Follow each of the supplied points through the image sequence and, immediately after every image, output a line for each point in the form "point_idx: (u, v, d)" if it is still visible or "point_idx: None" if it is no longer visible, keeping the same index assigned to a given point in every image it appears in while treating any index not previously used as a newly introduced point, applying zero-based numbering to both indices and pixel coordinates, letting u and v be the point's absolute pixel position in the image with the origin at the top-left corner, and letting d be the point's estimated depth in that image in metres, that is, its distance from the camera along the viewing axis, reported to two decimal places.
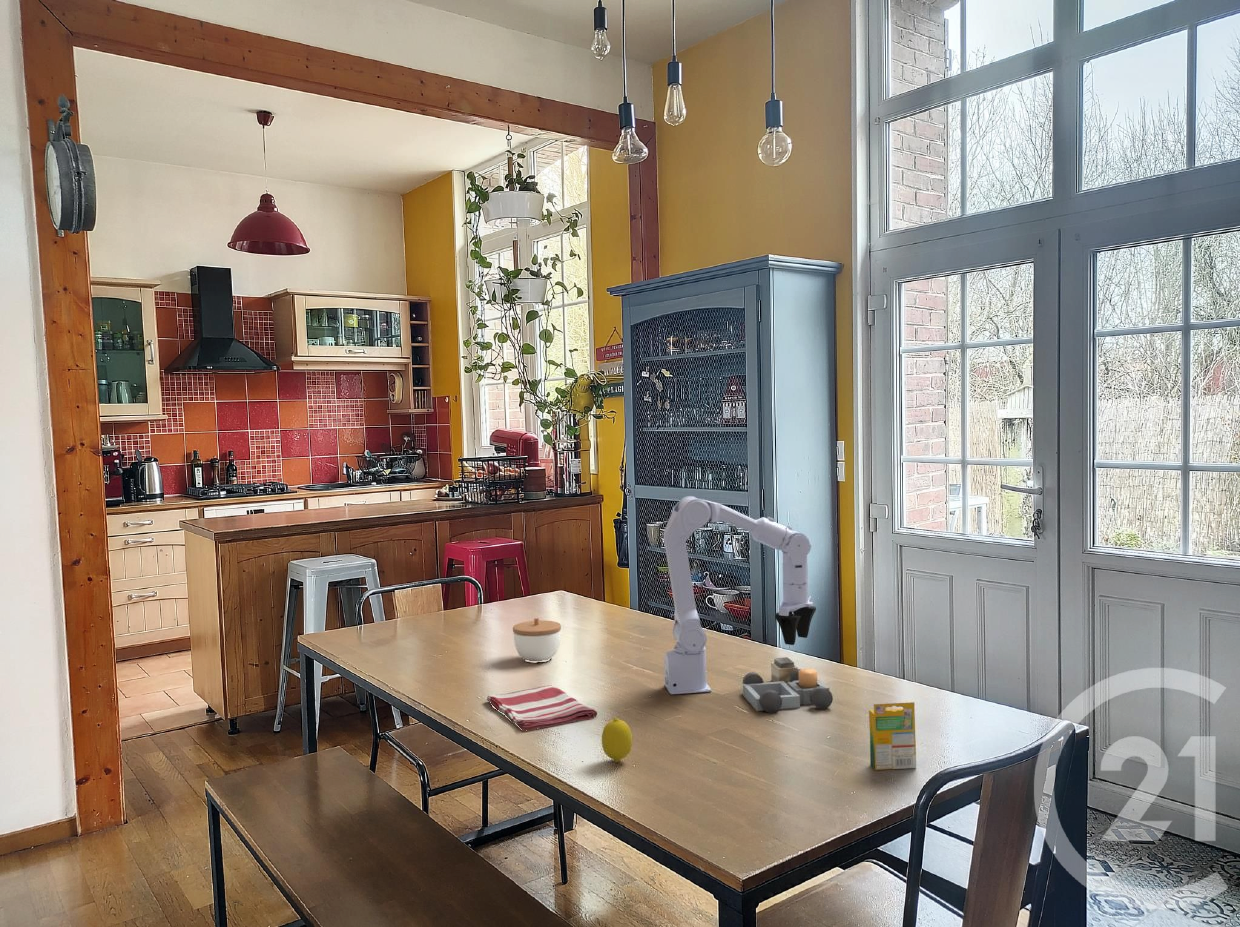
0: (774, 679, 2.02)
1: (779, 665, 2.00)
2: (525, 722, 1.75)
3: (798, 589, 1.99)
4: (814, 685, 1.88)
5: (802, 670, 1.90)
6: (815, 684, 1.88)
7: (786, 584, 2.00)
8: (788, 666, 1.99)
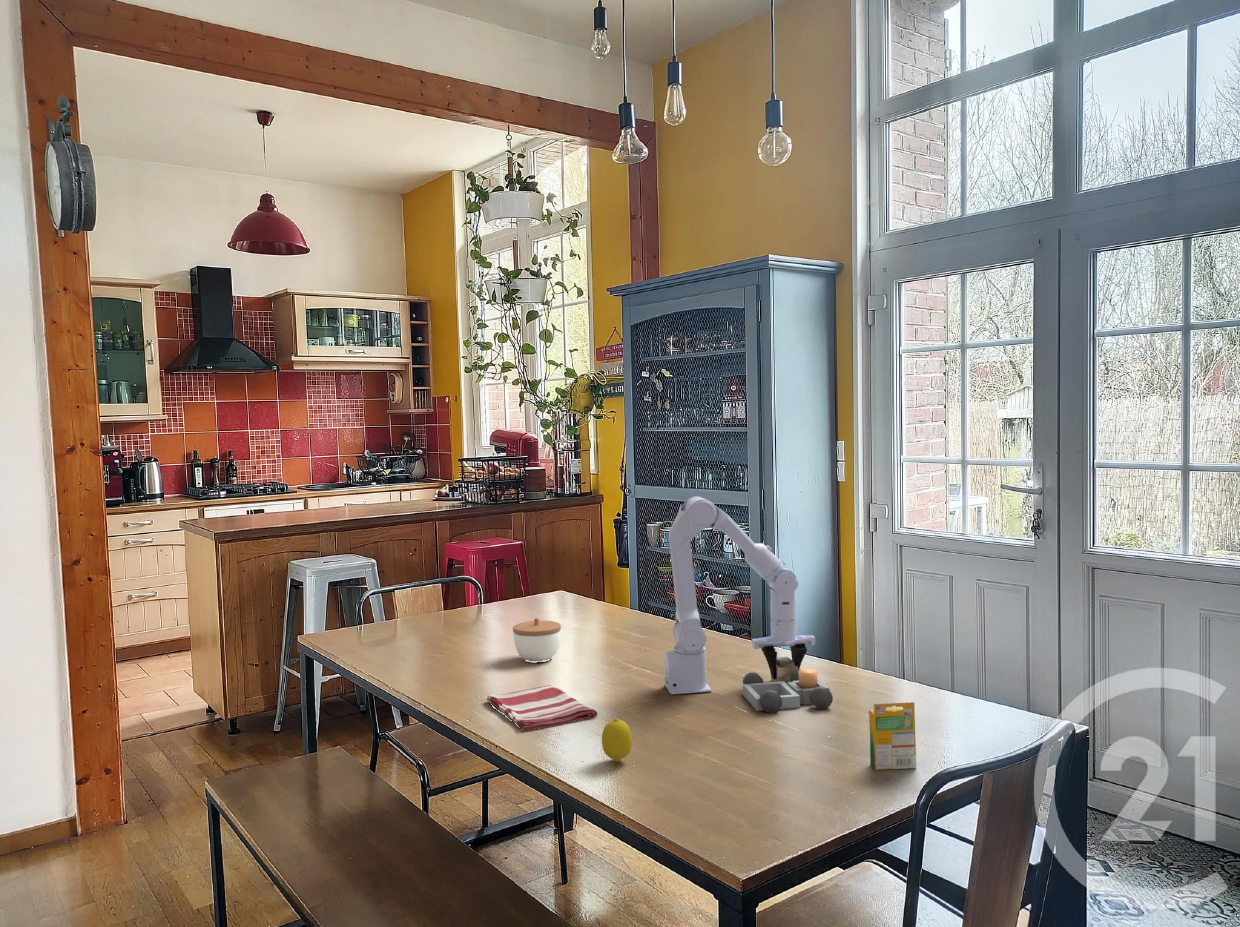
0: None
1: (779, 664, 2.00)
2: (525, 722, 1.75)
3: (776, 625, 1.99)
4: (814, 685, 1.88)
5: (802, 670, 1.90)
6: (815, 684, 1.88)
7: None
8: (788, 665, 1.99)
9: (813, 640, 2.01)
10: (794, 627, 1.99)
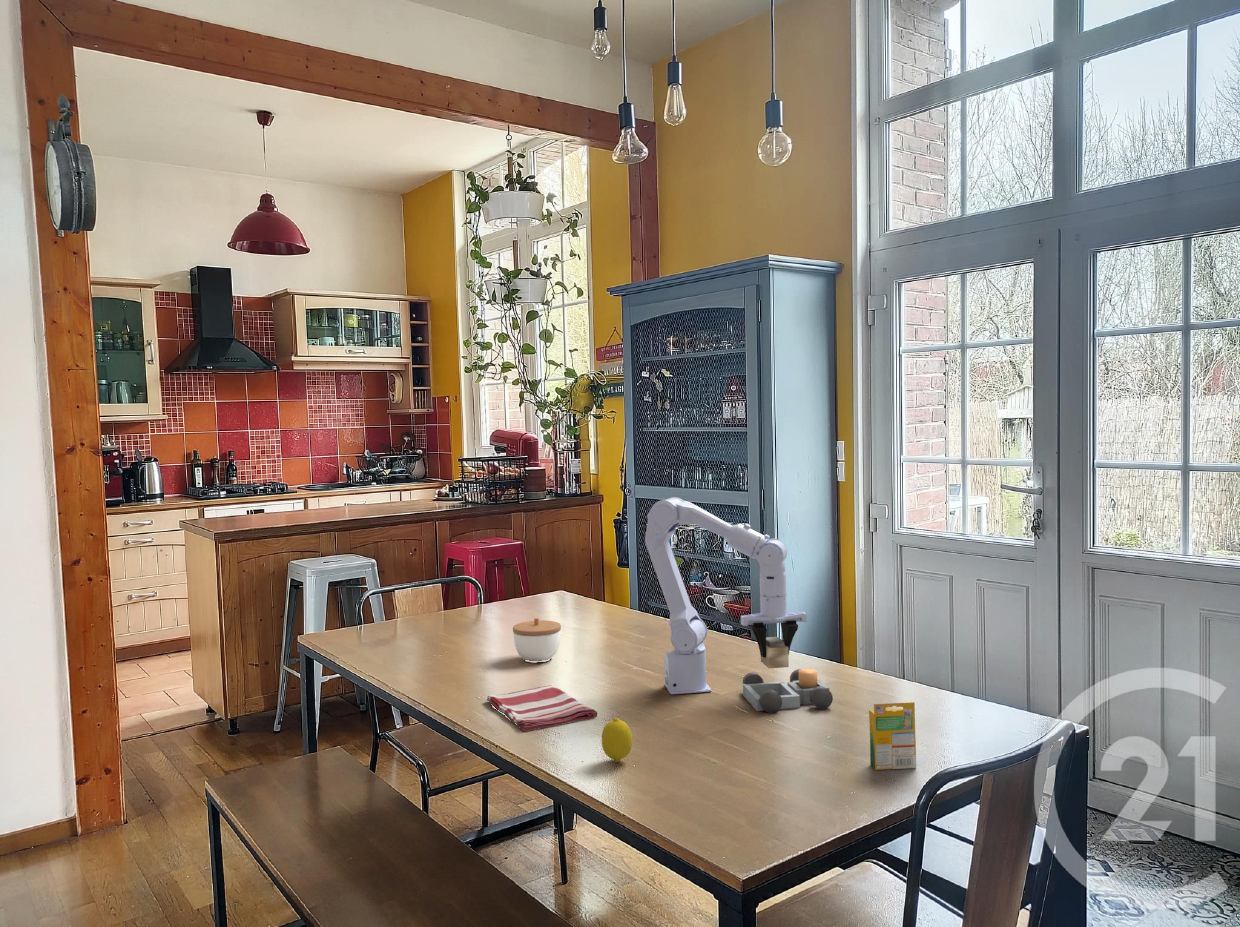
0: (763, 659, 1.93)
1: (769, 644, 1.91)
2: (525, 722, 1.75)
3: (765, 601, 1.90)
4: (814, 685, 1.88)
5: (802, 670, 1.90)
6: (815, 684, 1.88)
7: (760, 595, 1.93)
8: (778, 645, 1.91)
9: (804, 617, 1.92)
10: (785, 603, 1.91)
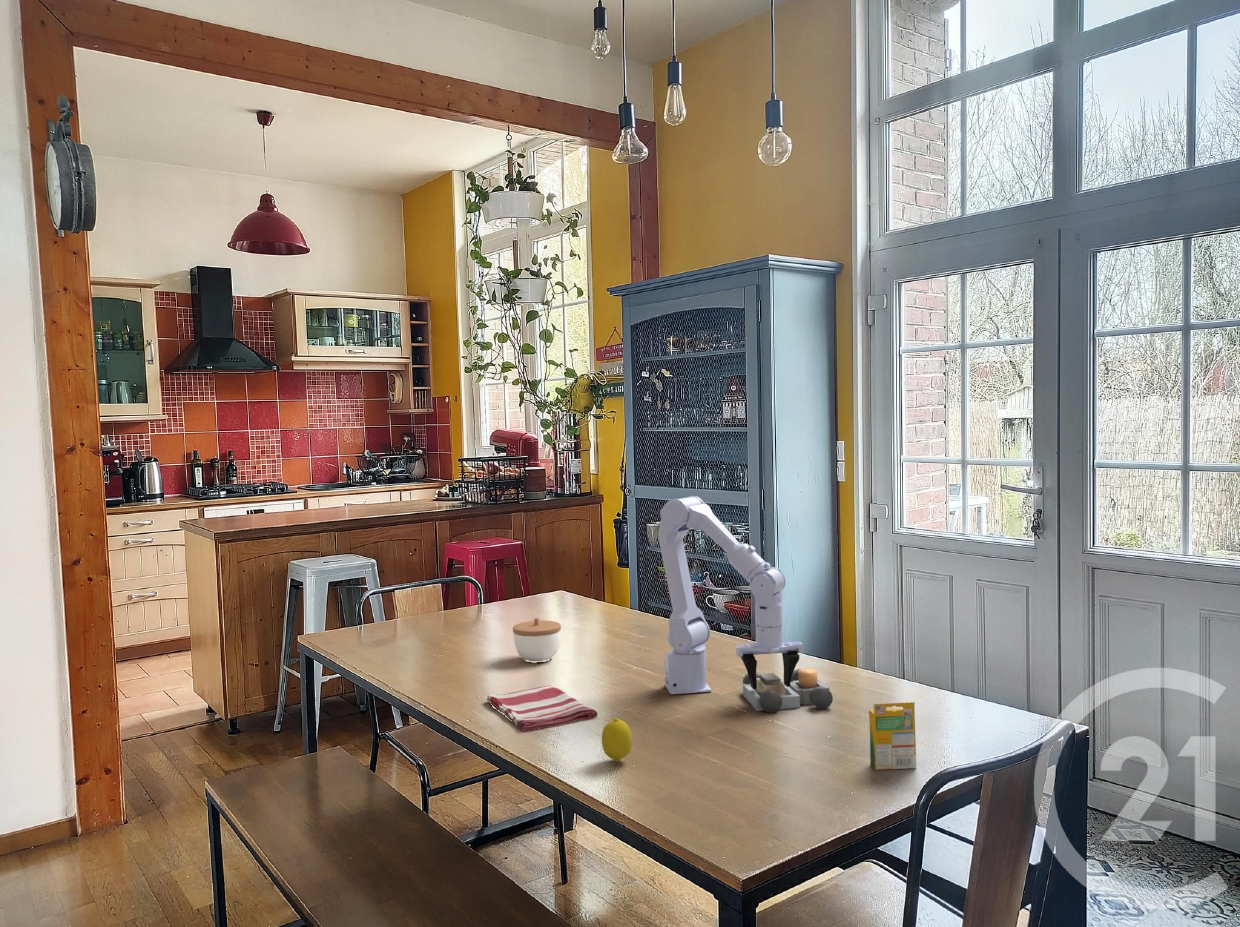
0: None
1: (765, 682, 1.87)
2: (525, 722, 1.75)
3: (761, 631, 1.86)
4: (814, 685, 1.88)
5: (802, 670, 1.90)
6: (815, 684, 1.88)
7: None
8: (774, 683, 1.87)
9: (801, 647, 1.88)
10: (781, 633, 1.87)
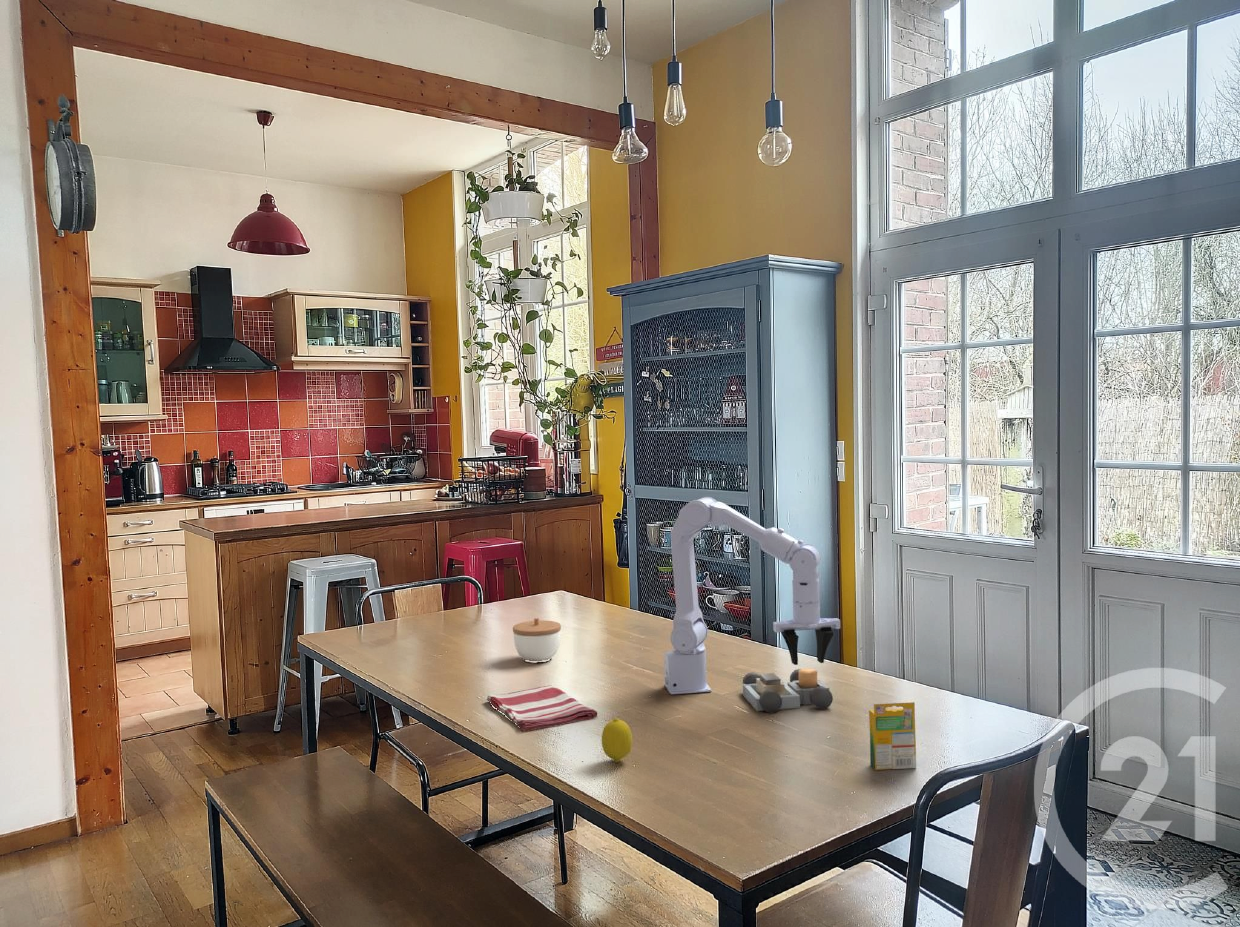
0: None
1: (765, 682, 1.87)
2: (525, 722, 1.75)
3: (799, 608, 1.87)
4: (814, 685, 1.88)
5: (802, 670, 1.90)
6: (815, 684, 1.88)
7: None
8: (774, 683, 1.87)
9: (838, 623, 1.89)
10: (818, 609, 1.88)
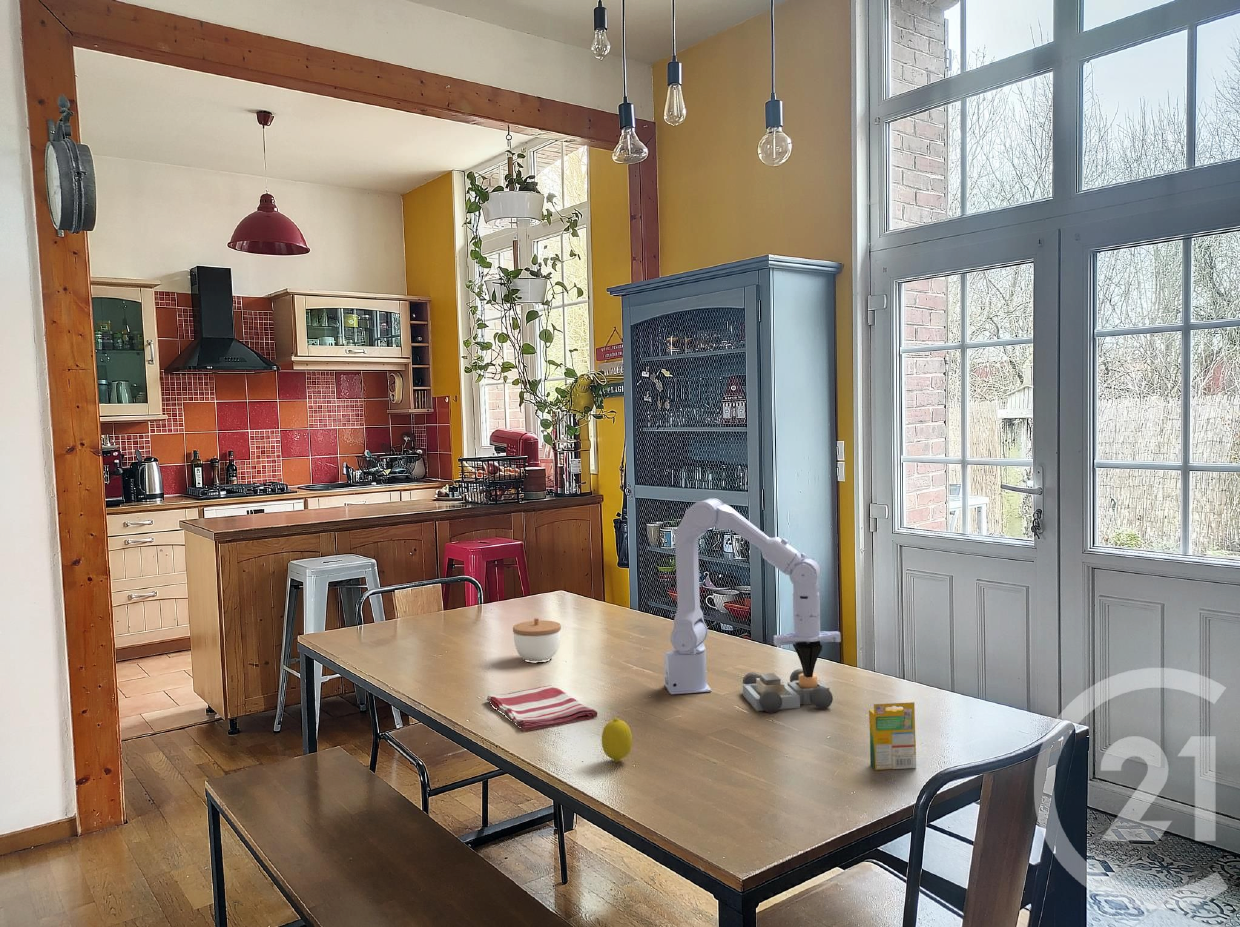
0: None
1: (765, 682, 1.87)
2: (525, 722, 1.75)
3: (799, 621, 1.87)
4: None
5: (803, 675, 1.90)
6: None
7: (793, 614, 1.90)
8: (774, 683, 1.87)
9: (838, 636, 1.89)
10: (818, 623, 1.88)
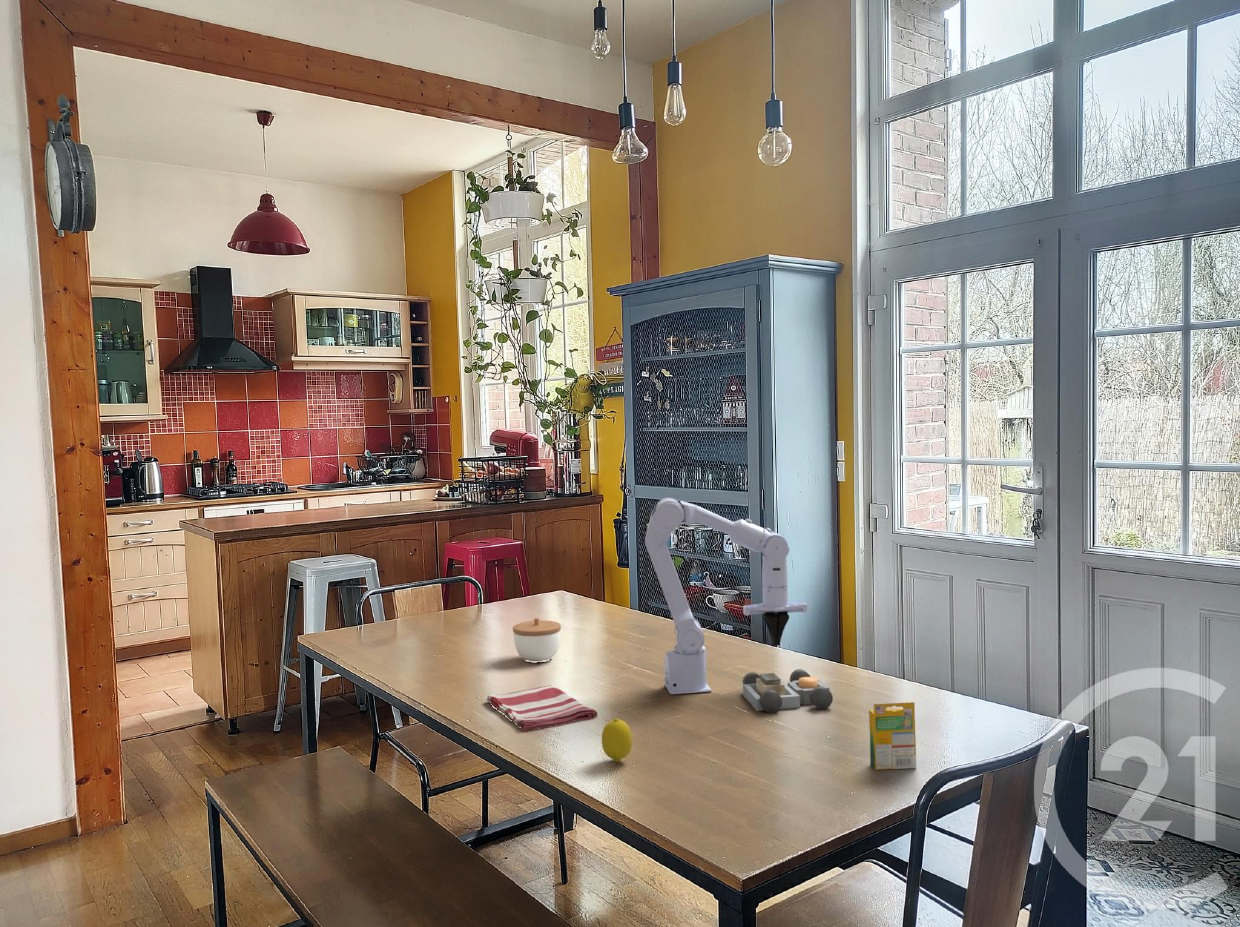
0: None
1: (765, 682, 1.87)
2: (525, 722, 1.75)
3: (767, 592, 1.97)
4: None
5: (803, 679, 1.90)
6: None
7: (762, 586, 1.99)
8: (774, 683, 1.87)
9: (805, 607, 1.99)
10: (786, 593, 1.97)
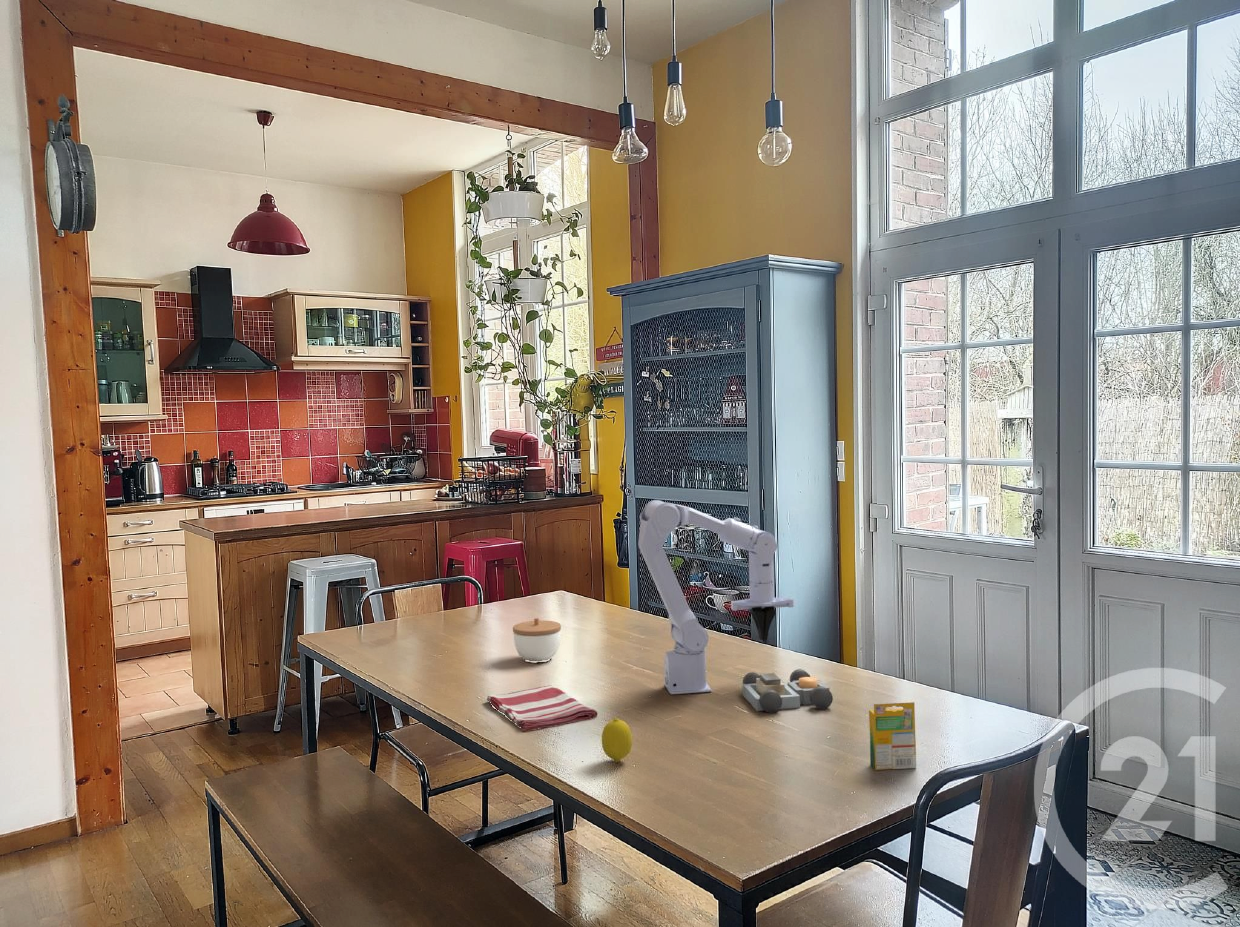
0: None
1: (765, 682, 1.87)
2: (525, 722, 1.75)
3: (754, 587, 2.01)
4: None
5: (803, 679, 1.90)
6: None
7: (749, 581, 2.04)
8: (774, 683, 1.87)
9: (791, 602, 2.03)
10: (772, 589, 2.02)
